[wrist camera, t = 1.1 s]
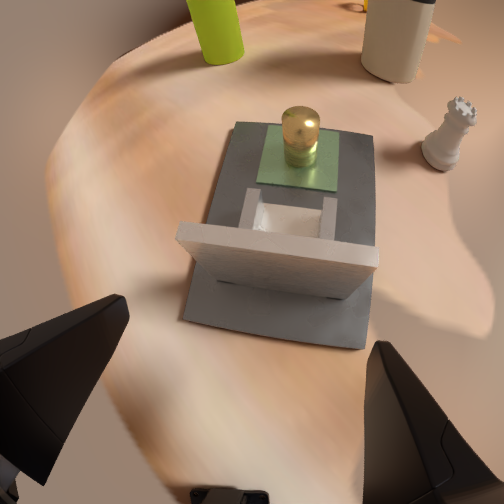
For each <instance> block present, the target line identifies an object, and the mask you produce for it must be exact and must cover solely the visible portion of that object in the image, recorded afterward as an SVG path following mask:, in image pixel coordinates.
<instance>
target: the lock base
mask: <svg viewBox="0 0 504 504" xmlns="http://www.w3.org/2000/svg"><path fill="white" fill-rule="evenodd" d="M319 125H320V117H319V115H318V113H317V112H316V111H314V110H313V109H311V108H308V107H304V106H295V107H291V108H289V109H287V110H286V111H285V112H284V113H283V115H282V124H275V123H259V122H236V124H235V127H234V130H233V133H232V136H231V140H230V143H229V146H228V149H227V153H226V156H225V159H224V162H223V166H222V169H221V173H220V176H219V179H218V183H217V186H216V190H215V193H214V197H213V200H212V204H211V208H210V211H209V215H208V218H207V222H206V224H210V225H218V226H226V227H235V228H238V226H239V222H240V218H241V213H242V209H243V205H244V200H245V196H246V192H247V188H254V189H261V193H262V198H263V204H264V213H263V218H262V223H261V228H260V231H266V232H274V233H282V234H289V235H297V236H304V237H311V238H318V232H319V223H320V214H321V209H322V204H323V198H324V197H330V198H337V212H336V225H335V237H334V241H340V242H347V243H353V244H360V245H367V246H374V247H375V210H376V202H375V163H374V145H373V136H371V135H366V134H360V133H354V132H347V131H341V130H333V129H326V128H319ZM372 282H373V273H372V274H371V275H370V276H369V277H368V278H367V279H366V280H365V281H364V282H363V283H362V284H361V285H360V286H359V287H358V288H357V289H356V290H355V291H354V292H353V293H352V294H351V295H350V296H349V297H348V298H347V299H338V298H331V297H324V296H317V295H309V294H303V293H296V292H289V291H282V290H276V289H269V288H263V287H257V286H250V285H244V284H238V283H232V282H226V281H220V280H215V279H214V278H213V277H212V276H211V275H210V274H209V273H208V272H207V271H206V270H205V269H204V268H203V267H202V266H201V265H200V264H199V263H198V262H197V261H196V265H195V269H194V273H193V277H192V281H191V285H190V289H189V294H188V298H187V302H186V307H185V311H184V316H183V319H184V320H187V321H192V322H196V323H200V324H205V325H210V326H214V327H219V328H224V329H229V330H234V331H239V332H244V333H250V334H255V335H261V336H267V337H273V338H279V339H285V340H291V341H298V342H305V343H312V344H319V345H327V346H335V347H343V348H352V349H365V344H366V337H367V330H368V322H369V313H370V304H371V294H372Z"/></svg>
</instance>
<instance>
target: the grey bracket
mask: <svg viewBox="0 0 504 504" xmlns="http://www.w3.org/2000/svg"><path fill="white" fill-rule="evenodd" d="M336 212H337V198H330V197H324V198H323V204H322V209H321V214H320V223H319V232H318V238H311V237H304V236H297V235H289V234H282V233H274V232H266V231H260V228H261V223H262V218H263V213H264V204H263V198H262V193H261V189H254V188H247V192H246V196H245V200H244V205H243V209H242V213H241V218H240V222H239V226H238V228H235V227H226V226H218V225H210V224H201V223H192V222H183V221H180V223H179V226H178V230H177V233H176V237H175V240H176V241H177V242H178V243H179V244H180V245H181V246H182V247H183V248H184V249H185V250H186V251H187V252H188V253H189V254H190V255H191V256H192V257H193V258H194V259H195V260H196V261H197V262H198V263H199V264H200V265H201V266H202V267H203V268H204V269H205V270H206V271H207V272H208V273H209V274H210V275H211V276H212V277H213V278H214V279H215V280H220V281H226V282H232V283H238V284H244V285H250V286H257V287H263V288H269V289H276V290H282V291H289V292H296V293H303V294H309V295H317V296H324V297H331V298H338V299H347V298H348V297H349V296H350V295H351V294H352V293H353V292H354V291H355V290H356V289H357V288H358V287H359V286H360V285H361V284H362V283H363V282H364V281H365V280H366V279H367V278H368V277H369V276H370V275H371V274H372V273H373V272H374V271H375V270H376V269H377V268H378V261H379V247H374V246H367V245H360V244H353V243H347V242H340V241H334V237H335V225H336Z"/></svg>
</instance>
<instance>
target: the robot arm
mask: <svg viewBox="0 0 504 504" xmlns="http://www.w3.org/2000/svg"><path fill="white" fill-rule="evenodd" d="M129 317H130V315H129V311H128V307H127V303H126V299H125V297H124V296H122V295H118V294H112V295H109V296H107V297H104V298H102V299H100V300H97V301H95V302H92V303H90V304H87V305H85V306H82V307H80V308H78V309H75V310H73V311H70V312H68V313H65V314H63V315H61V316H58V317H56V318H53V319H51V320H49V321H46V322H44V323H41V324H39V325H37V326H35V327H32V329H31V328H29V329H27V330H25V331H22V332H20V333H17V334H15V335H12V336H9V337H7V338H4V339H1V340H0V504H17V503H16V502H17V501H18V499H19V496H18V491H17V486H16V481H15V478H16V476H17V475H18V473H19V472H20V471H22V472H23V473H25V474H26V475H27V476H29V477H30V478H32V479H33V480H34V481H36V482H37V483H39V484H40V485H42V486H44V485H45V483H46V481H47V479H48V477H49V475H50V472H51V470H52V468H53V466H54V464H55V461H56V460H57V457H58V455H59V453H60V451H61V449H62V447H63V445H64V444H63V443H65V441H66V439H67V437H68V435H69V433H70V431H71V429H72V427H73V425H74V423H75V422H76V420H77V418H78V416H79V414H80V412H81V410H82V408H83V406H84V405H85V403H86V401H87V399H88V397H89V396H90V394H91V392H92V390H93V388H94V386H95V385H96V383H97V381H98V380H99V378H100V376H101V374H102V373H103V371H104V369H105V367H106V366H107V364H108V362H109V361H110V359H111V357H112V355H113V353H114V351H115V349H116V347H117V345H118V343H119V341H120V338H121V336H122V334H123V332H124V330H125V328H126V326H127V324H128V321H129ZM364 442H365V448H364V487H363V504H504V482H502V481H501V480H500V479H498V478H497V477H496V476H495V475H494V474H493V473H492V471H491V470H490V469H489V468H488V467H487V466H486V465H485V463H484V462H483V461H482V460H481V459H480V457H479V456H478V455H477V454H476V453H475V452H474V451H473V449H472V448H471V447H470V446H469V444H468V443H467V442H466V441H465V440H464V438H463V437H462V436H461V435H460V433H459V432H458V430H457V429H456V428H455V426H454V425H453V424H452V422H451V421H450V420H448V417H447V416H446V414H445V413H444V411H443V410H442V409H441V407H440V406H439V405H438V403H437V402H436V401H435V399H434V398H433V397H432V395H431V394H430V393H429V391H428V390H427V389H426V387H425V386H424V385H423V384H422V382H421V381H420V380H419V378H418V377H417V376H416V375H415V373H414V372H413V371H412V369H411V368H410V367H409V366H408V364H407V363H406V362H405V361H404V359H403V358H402V357H401V355H400V354H399V353H398V352H397V351H396V349H395V348H394V347H393V346H392V344H391V343H390V342H388V341H380V340H378V341H376V342H375V344H374V346H373V348H372V351H371V353H370V356H369V358H368V361H367V370H366V387H365V400H364ZM194 492H196V493H198V495H196V494H195V493H194ZM261 495H263V496H265V498H261V497H260V496H261ZM190 497H191V503H192V504H270V501H269V494H268V493H267V492H265V491H242V490H233V489H214V488H212V489H211V490H209V489H198V488H194V489H192V490H191V492H190Z"/></svg>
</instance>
